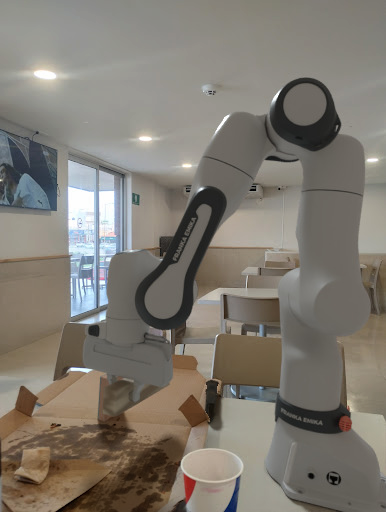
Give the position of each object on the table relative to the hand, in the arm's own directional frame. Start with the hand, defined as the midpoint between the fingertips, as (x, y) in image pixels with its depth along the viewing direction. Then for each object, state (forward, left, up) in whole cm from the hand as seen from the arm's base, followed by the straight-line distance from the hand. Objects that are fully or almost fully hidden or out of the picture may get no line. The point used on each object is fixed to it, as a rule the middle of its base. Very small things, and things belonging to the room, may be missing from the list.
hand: (125, 397), depth 75 cm
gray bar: (0, -5, -2) cm, 5 cm away
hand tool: (-8, -28, -11) cm, 31 cm away
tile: (+11, -9, -10) cm, 17 cm away
